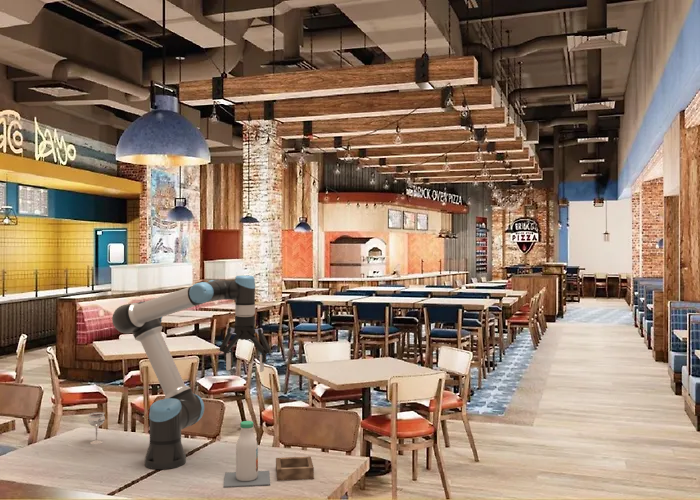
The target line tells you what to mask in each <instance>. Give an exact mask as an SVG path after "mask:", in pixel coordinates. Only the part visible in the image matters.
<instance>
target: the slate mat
mask: <svg viewBox="0 0 700 500" xmlns="http://www.w3.org/2000/svg"><path fill="white" fill-rule="evenodd" d="M267 486H269V487H270V486H271V474H270V470H258V477H257V479H255V480H252V481H240V480H237V478H236V471H233V472H232V471H229V472H224V479H223V488H224V489H225V488H246V487H247V488H249V487H267Z"/></svg>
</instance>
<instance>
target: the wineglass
mask: <svg viewBox="0 0 700 500" xmlns="http://www.w3.org/2000/svg"><path fill="white" fill-rule="evenodd" d="M105 414H106V412H104V411H94V412H90V413H88V414H87V416H88V417H87V422H88V424H89V425H91V427H94V428H95V440H94V441H91V442H90V443H89V444H91V445H100V444H102V443H103V442H104V441H102V440H98V428H99V427H100V426H101V425H103V424H104V422H105V420H106V417H105Z"/></svg>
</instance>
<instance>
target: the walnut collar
mask: <svg viewBox="0 0 700 500" xmlns="http://www.w3.org/2000/svg"><path fill="white" fill-rule="evenodd" d="M314 469H315V467H314V464H313V460H312V456H309V455H308V456H294V457H292V456H290V457H286V456H285V457H276V458H275V472H276V481H299V480H302V479H304V480H314V478H315V473H314V471H315V470H314Z"/></svg>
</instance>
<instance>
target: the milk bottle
mask: <svg viewBox="0 0 700 500" xmlns="http://www.w3.org/2000/svg"><path fill="white" fill-rule="evenodd" d="M239 433H240V434H239V437H238V438H237V442H236V445H235V446H236V447H235V472H236V478H237V480H240V481H252V480H255V479H257V477H258V471H259V454H258V453H259V449H258V448H259V447H258V442H257V437H256V435H255V433H254V421H252V420H244V421H241V422H240V432H239Z"/></svg>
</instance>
